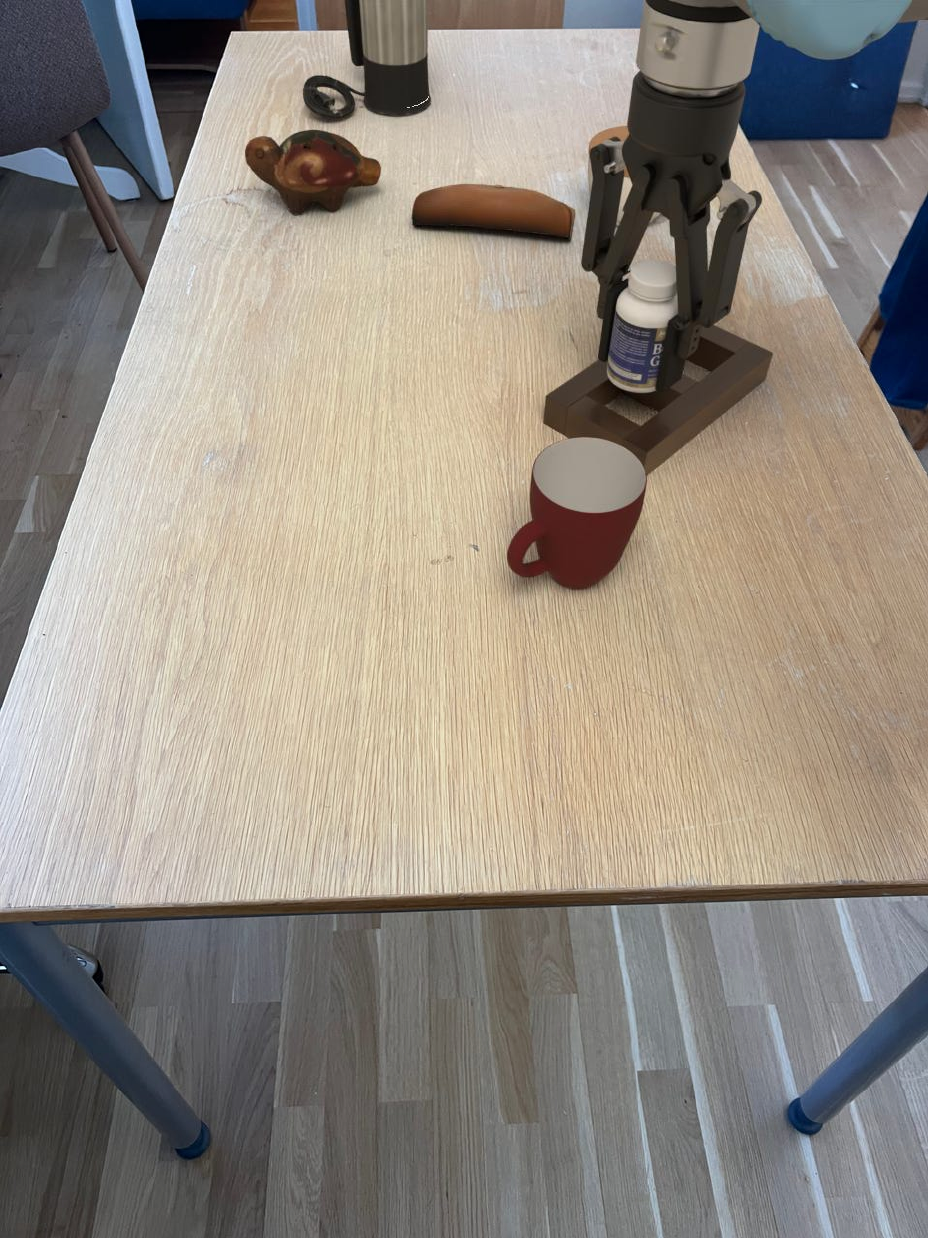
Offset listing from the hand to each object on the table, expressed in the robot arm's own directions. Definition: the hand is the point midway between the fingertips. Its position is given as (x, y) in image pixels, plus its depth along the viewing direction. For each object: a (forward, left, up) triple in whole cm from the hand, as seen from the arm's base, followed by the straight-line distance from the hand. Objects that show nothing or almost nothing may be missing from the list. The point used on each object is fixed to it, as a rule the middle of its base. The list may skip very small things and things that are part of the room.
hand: (638, 368), depth 81 cm
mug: (-8, +19, -6) cm, 21 cm away
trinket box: (+23, -30, -6) cm, 38 cm away
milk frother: (+66, -29, -6) cm, 72 cm away
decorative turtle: (+51, -7, -6) cm, 52 cm away
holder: (0, -4, -6) cm, 7 cm away
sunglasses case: (+33, -18, -6) cm, 38 cm away
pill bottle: (0, 0, -1) cm, 1 cm away
